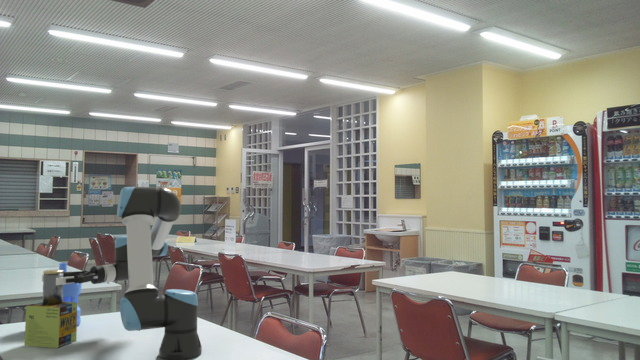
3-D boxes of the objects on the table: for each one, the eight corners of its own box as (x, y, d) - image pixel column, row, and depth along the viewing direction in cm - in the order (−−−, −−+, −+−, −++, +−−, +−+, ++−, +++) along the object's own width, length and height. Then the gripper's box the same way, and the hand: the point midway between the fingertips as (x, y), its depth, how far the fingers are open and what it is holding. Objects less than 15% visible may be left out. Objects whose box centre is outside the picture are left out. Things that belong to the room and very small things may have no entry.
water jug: (32, 328, 217) (35, 264, 219) (61, 320, 232) (63, 261, 234) (61, 331, 213) (63, 266, 214) (88, 323, 228) (90, 262, 229)
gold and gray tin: (65, 303, 196) (66, 270, 197) (46, 306, 191) (47, 272, 191) (58, 301, 201) (59, 269, 202) (39, 303, 195) (40, 270, 196)
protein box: (58, 348, 188) (59, 307, 189) (23, 346, 191) (25, 305, 192) (77, 341, 199) (78, 302, 199) (43, 338, 202) (45, 300, 202)
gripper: (116, 286, 203) (62, 293, 187) (88, 280, 219) (36, 285, 203) (116, 267, 203) (62, 273, 187) (88, 263, 219) (37, 267, 203)
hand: (48, 279), depth 195 cm, fingers open, 13 cm apart
